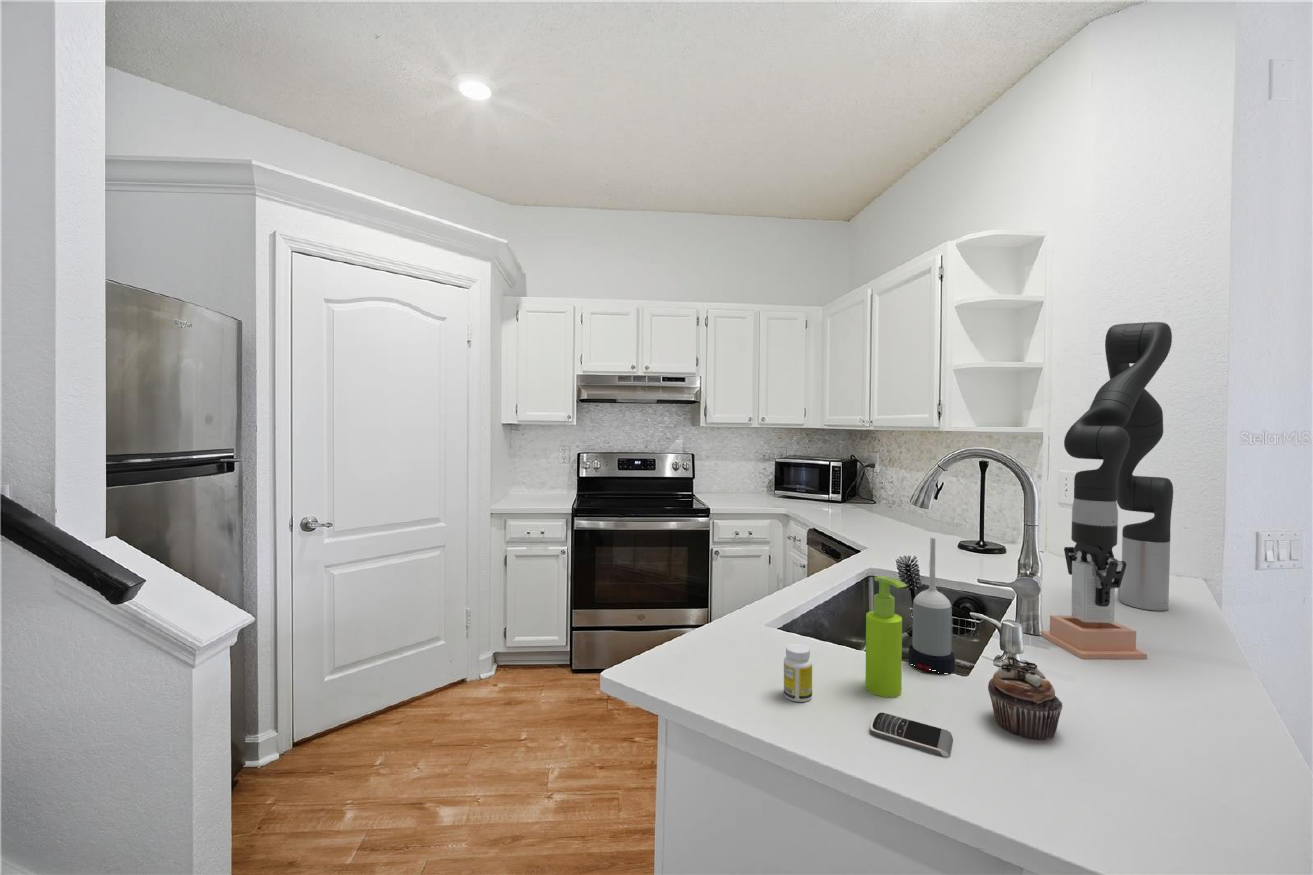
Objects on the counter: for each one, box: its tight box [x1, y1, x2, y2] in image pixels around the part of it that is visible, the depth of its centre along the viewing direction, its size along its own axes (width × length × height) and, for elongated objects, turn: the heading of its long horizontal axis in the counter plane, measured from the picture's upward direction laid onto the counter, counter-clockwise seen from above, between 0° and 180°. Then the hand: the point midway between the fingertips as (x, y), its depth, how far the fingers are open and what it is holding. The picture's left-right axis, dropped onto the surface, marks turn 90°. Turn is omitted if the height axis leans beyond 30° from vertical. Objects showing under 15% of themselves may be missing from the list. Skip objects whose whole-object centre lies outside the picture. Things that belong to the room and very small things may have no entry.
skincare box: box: [1071, 561, 1116, 623], centre depth 115 cm, size 6×4×12 cm
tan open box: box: [1039, 615, 1148, 660], centre depth 115 cm, size 12×13×5 cm
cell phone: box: [869, 712, 954, 758], centre depth 83 cm, size 6×11×1 cm, turn 57°
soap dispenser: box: [864, 575, 908, 698], centre depth 96 cm, size 6×7×20 cm
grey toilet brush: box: [907, 537, 956, 676], centre depth 106 cm, size 8×8×25 cm
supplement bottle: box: [783, 643, 813, 703], centre depth 95 cm, size 5×5×8 cm
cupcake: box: [987, 656, 1063, 741], centre depth 86 cm, size 10×10×10 cm
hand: (1092, 601), depth 115 cm, fingers closed on skincare box, 4 cm apart
